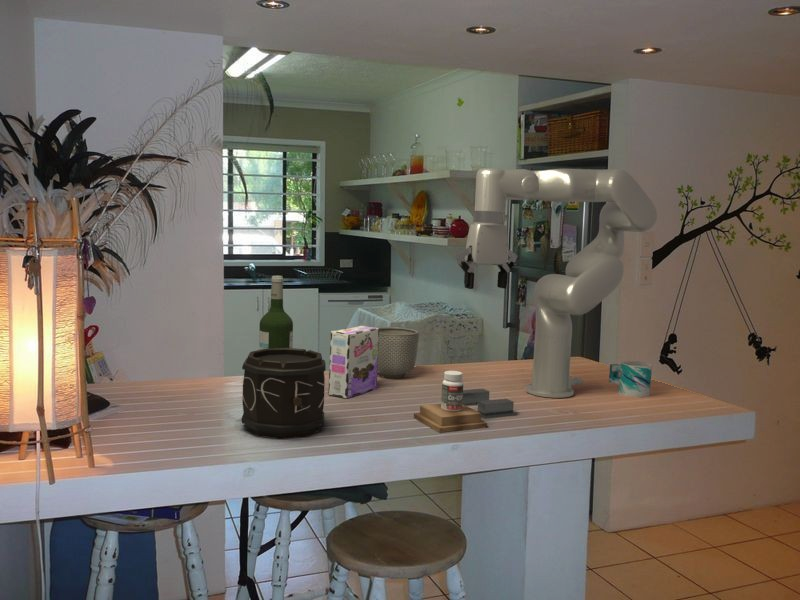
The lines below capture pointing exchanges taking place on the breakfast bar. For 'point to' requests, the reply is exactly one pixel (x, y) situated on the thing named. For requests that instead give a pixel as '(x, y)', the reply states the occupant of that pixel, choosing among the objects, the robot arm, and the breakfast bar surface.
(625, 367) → the mug
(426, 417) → the tan square pedestal
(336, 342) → the candy box
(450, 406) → the pill bottle
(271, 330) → the wine bottle
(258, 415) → the wooden barrel
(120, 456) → the breakfast bar surface
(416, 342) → the planter
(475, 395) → the clamp jaws
